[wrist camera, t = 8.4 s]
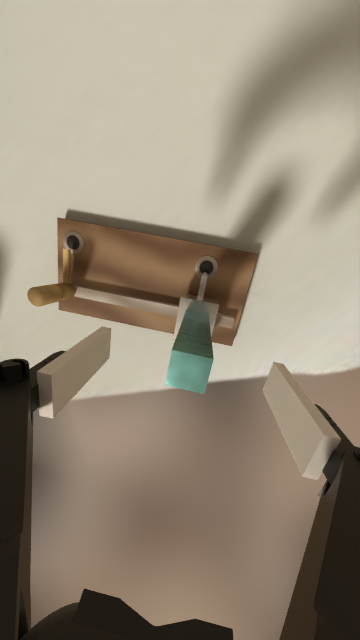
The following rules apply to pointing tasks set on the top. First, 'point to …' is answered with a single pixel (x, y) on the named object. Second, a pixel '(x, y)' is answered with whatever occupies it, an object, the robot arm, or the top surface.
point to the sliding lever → (193, 341)
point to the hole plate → (144, 277)
